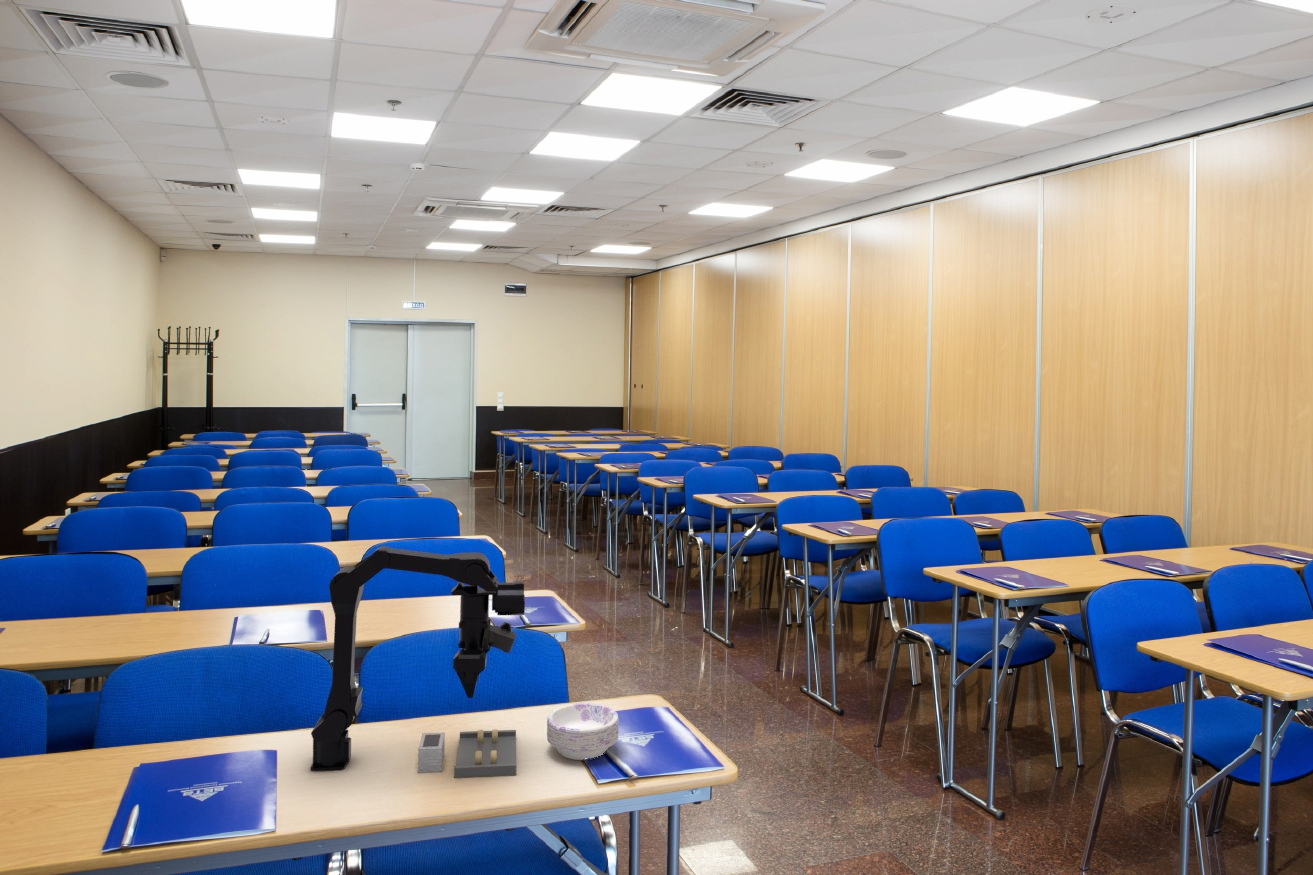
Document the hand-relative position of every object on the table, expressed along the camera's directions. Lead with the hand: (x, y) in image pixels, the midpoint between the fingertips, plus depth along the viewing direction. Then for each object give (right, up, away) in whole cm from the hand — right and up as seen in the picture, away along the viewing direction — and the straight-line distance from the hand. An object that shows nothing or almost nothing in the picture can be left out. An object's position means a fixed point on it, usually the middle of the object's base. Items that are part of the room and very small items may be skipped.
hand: (472, 689), depth 178 cm
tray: (+3, -15, +1) cm, 15 cm away
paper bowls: (+22, -15, +6) cm, 27 cm away
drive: (-8, -15, -2) cm, 17 cm away
